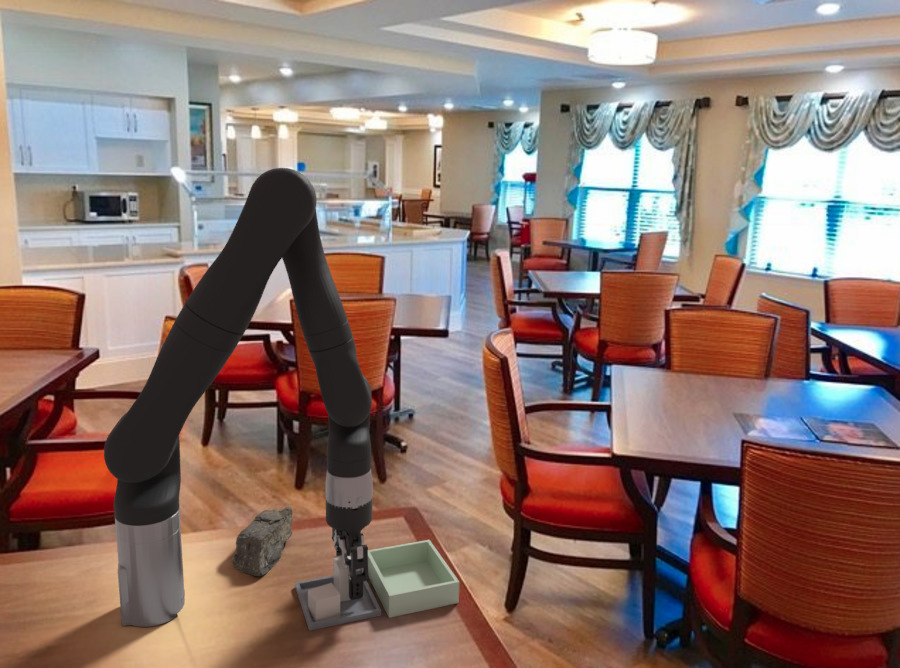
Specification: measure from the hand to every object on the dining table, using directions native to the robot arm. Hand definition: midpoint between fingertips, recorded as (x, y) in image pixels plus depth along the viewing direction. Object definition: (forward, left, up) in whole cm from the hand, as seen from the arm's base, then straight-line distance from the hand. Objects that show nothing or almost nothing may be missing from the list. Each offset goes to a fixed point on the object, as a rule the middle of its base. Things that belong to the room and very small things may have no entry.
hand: (349, 583), depth 118 cm
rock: (-12, +17, -3) cm, 21 cm away
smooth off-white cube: (-5, -4, -2) cm, 7 cm away
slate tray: (-2, -1, -2) cm, 4 cm away
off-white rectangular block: (0, 0, -2) cm, 2 cm away
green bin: (+10, -1, -2) cm, 11 cm away
